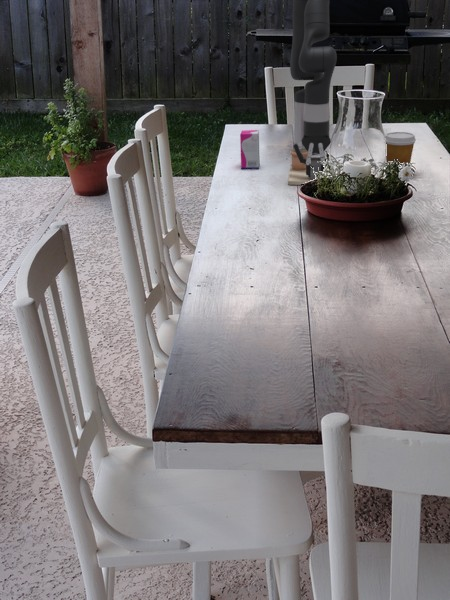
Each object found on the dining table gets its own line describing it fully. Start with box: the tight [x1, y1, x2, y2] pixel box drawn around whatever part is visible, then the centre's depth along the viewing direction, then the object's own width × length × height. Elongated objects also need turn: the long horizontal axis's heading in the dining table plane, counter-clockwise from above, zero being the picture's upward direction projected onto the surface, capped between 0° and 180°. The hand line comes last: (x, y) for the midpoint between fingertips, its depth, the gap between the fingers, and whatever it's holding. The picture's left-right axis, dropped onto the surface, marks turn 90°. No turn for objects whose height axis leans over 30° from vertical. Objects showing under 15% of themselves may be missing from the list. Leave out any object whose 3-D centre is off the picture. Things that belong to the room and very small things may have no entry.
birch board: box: [287, 156, 321, 186], centre depth 245 cm, size 24×10×7 cm, turn 174°
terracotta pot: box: [289, 148, 308, 170], centre depth 248 cm, size 6×6×6 cm
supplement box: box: [239, 129, 261, 170], centre depth 254 cm, size 6×6×12 cm
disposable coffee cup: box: [384, 131, 417, 164], centre depth 242 cm, size 10×10×12 cm
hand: (315, 176), depth 237 cm, fingers closed on birch board, 3 cm apart
